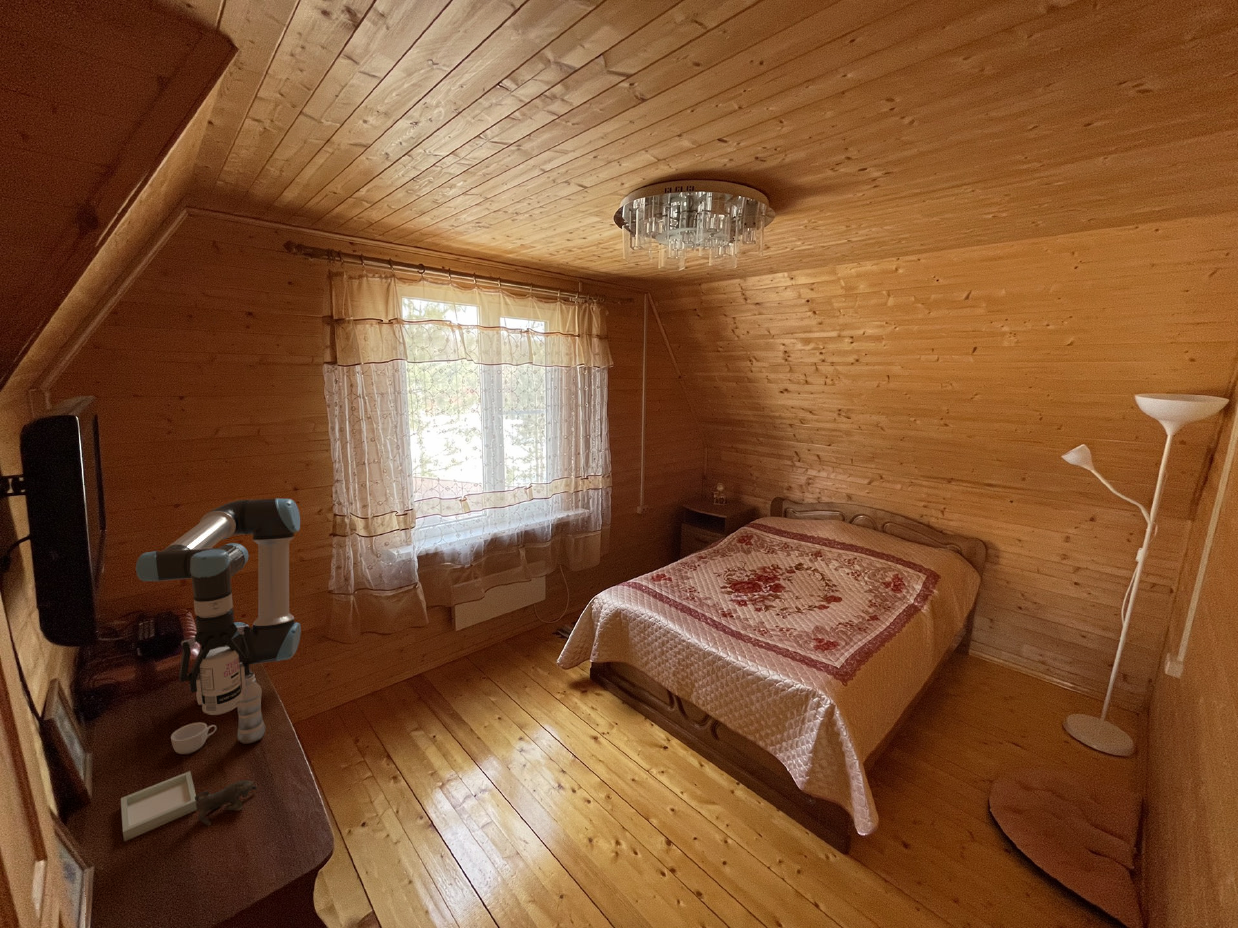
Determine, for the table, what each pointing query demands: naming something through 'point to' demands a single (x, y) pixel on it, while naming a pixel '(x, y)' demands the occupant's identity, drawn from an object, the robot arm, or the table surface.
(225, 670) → the supplement can
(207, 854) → the table surface
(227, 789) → the dog figurine
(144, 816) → the can tray
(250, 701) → the plastic bottle
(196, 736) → the teacup
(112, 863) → the table surface
